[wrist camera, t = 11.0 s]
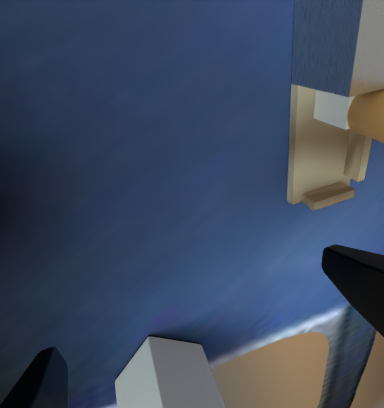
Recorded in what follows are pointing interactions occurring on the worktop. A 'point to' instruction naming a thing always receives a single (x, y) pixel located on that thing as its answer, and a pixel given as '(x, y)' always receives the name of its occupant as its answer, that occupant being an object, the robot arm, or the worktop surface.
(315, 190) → the cradle
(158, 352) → the milk carton
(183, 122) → the worktop surface
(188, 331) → the worktop surface
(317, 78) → the socket
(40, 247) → the worktop surface
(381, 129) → the orange upright rod
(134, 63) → the worktop surface
